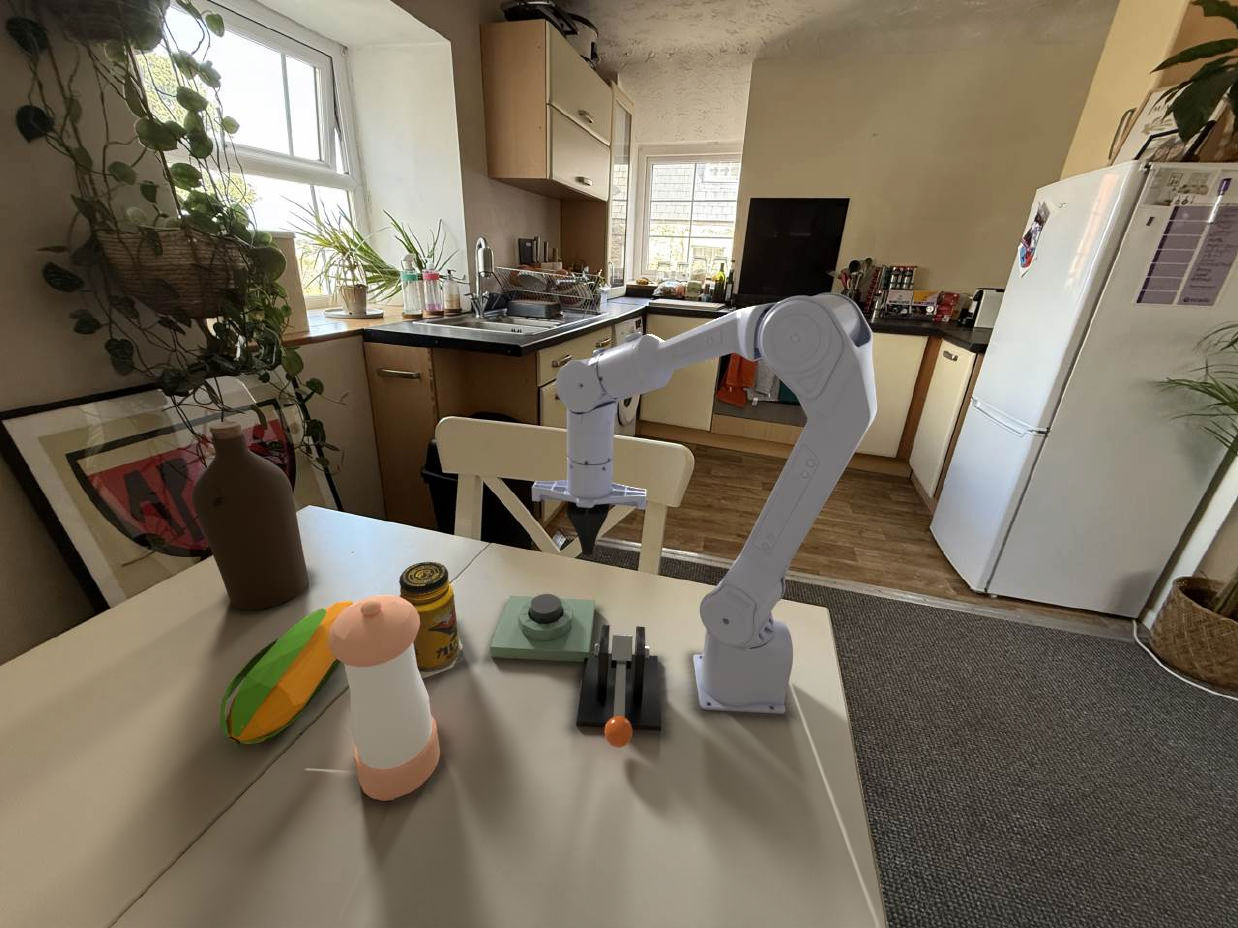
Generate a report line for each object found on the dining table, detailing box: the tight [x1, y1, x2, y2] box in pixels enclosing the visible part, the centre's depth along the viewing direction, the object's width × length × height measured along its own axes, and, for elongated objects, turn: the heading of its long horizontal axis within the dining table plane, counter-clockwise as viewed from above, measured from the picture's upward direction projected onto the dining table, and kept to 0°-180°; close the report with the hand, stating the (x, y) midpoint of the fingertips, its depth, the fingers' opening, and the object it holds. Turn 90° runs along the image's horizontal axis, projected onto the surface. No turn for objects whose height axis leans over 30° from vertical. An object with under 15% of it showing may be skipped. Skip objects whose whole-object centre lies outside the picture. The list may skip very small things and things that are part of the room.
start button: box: [530, 593, 562, 624], centre depth 64 cm, size 4×4×2 cm
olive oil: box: [191, 421, 309, 611], centre depth 67 cm, size 11×11×25 cm
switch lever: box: [603, 634, 633, 749], centre depth 52 cm, size 11×3×3 cm, turn 179°
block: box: [489, 595, 596, 663], centre depth 65 cm, size 12×10×4 cm
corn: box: [219, 600, 354, 746], centre depth 55 cm, size 7×8×20 cm
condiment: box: [398, 561, 464, 680], centre depth 59 cm, size 7×8×12 cm
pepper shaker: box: [328, 594, 441, 802], centre depth 44 cm, size 7×7×19 cm
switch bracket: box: [575, 624, 662, 732], centre depth 56 cm, size 10×9×8 cm
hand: (588, 550), depth 66 cm, fingers closed
